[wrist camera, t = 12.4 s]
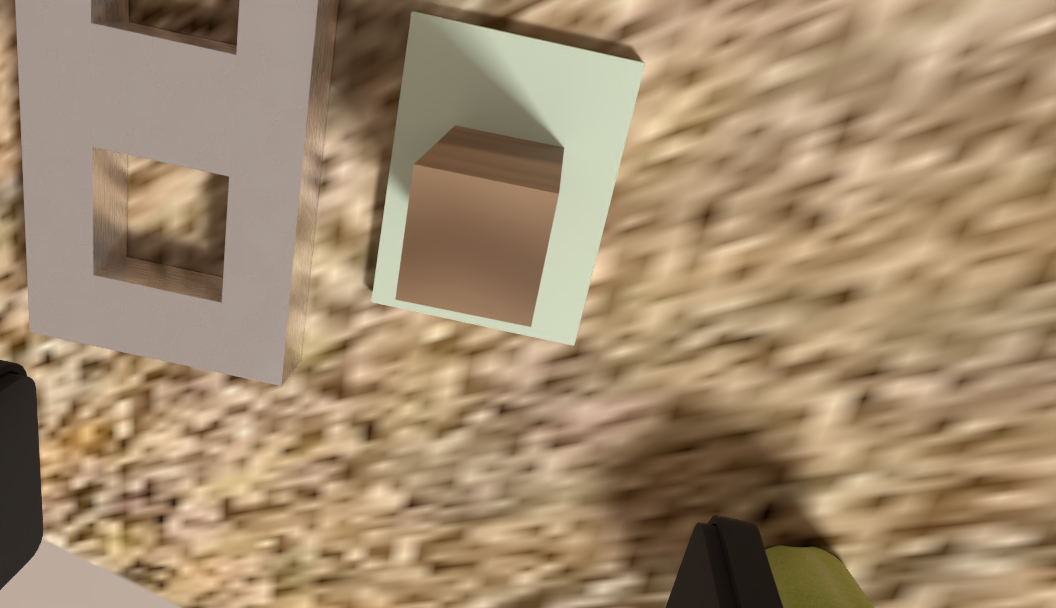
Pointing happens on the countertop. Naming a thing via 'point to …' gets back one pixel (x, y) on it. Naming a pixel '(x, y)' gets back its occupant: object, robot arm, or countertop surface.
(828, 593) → the plant pot
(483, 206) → the walnut block
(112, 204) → the socket plate
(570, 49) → the sage pad
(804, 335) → the countertop surface
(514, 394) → the countertop surface
